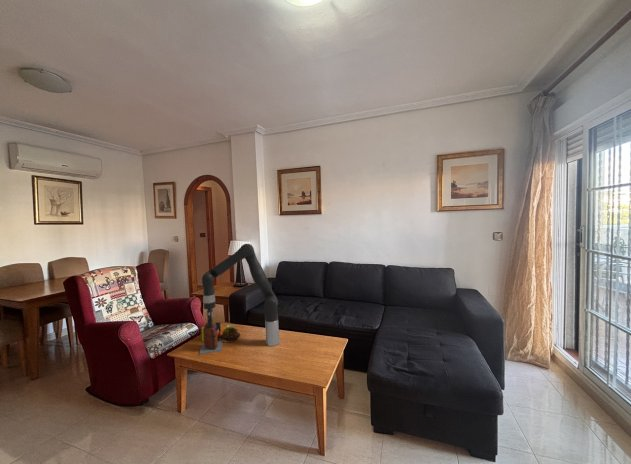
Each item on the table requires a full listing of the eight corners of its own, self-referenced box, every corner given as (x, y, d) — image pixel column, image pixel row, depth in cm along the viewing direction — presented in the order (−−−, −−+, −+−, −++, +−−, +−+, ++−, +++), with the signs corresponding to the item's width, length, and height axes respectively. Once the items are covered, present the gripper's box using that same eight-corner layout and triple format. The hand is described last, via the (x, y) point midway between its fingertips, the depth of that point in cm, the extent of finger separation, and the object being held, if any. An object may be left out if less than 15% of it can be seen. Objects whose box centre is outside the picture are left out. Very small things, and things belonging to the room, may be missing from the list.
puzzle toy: (215, 341, 187) (215, 328, 187) (202, 341, 187) (201, 328, 187) (220, 335, 197) (220, 322, 197) (208, 335, 197) (207, 322, 197)
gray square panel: (222, 342, 185) (222, 341, 184) (222, 350, 172) (222, 349, 172) (201, 346, 180) (201, 344, 180) (199, 355, 168) (199, 353, 168)
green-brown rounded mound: (217, 335, 197) (217, 323, 197) (238, 331, 204) (238, 319, 203) (218, 345, 181) (217, 331, 181) (241, 340, 188) (241, 327, 187)
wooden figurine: (221, 346, 177) (220, 321, 176) (213, 350, 171) (212, 324, 170) (209, 343, 182) (208, 318, 181) (201, 347, 176) (200, 321, 175)
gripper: (204, 298, 180) (205, 321, 181) (202, 304, 167) (203, 329, 167) (215, 297, 183) (216, 319, 183) (214, 303, 169) (215, 327, 170)
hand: (210, 324), depth 175 cm, fingers open, 8 cm apart
